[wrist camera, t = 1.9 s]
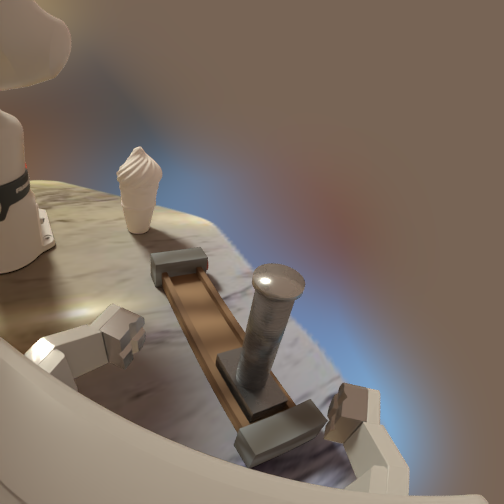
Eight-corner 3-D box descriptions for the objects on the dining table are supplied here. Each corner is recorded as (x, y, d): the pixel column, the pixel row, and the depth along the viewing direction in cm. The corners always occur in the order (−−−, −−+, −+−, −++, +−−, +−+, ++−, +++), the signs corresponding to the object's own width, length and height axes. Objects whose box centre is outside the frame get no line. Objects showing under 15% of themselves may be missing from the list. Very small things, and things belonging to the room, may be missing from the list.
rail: (150, 275, 48) (150, 253, 45) (200, 267, 52) (203, 246, 50) (248, 468, 25) (255, 455, 23) (317, 436, 29) (330, 419, 27)
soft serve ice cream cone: (166, 234, 59) (172, 151, 50) (125, 243, 54) (125, 156, 45) (149, 216, 64) (153, 140, 55) (111, 223, 59) (111, 144, 50)
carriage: (215, 365, 33) (232, 253, 26) (247, 355, 35) (273, 247, 28) (249, 423, 28) (286, 319, 20) (283, 409, 30) (331, 306, 22)
